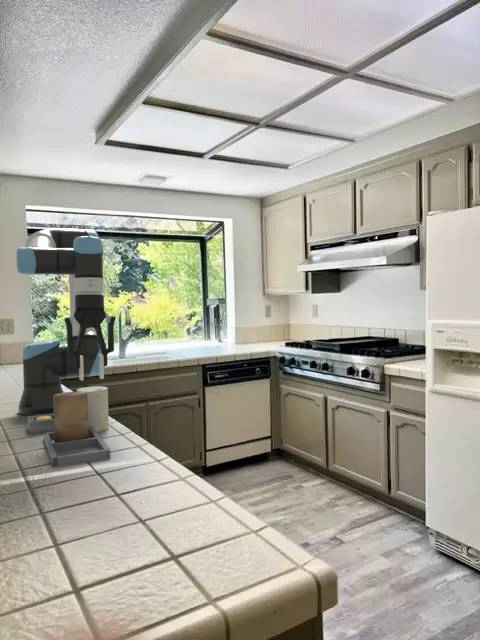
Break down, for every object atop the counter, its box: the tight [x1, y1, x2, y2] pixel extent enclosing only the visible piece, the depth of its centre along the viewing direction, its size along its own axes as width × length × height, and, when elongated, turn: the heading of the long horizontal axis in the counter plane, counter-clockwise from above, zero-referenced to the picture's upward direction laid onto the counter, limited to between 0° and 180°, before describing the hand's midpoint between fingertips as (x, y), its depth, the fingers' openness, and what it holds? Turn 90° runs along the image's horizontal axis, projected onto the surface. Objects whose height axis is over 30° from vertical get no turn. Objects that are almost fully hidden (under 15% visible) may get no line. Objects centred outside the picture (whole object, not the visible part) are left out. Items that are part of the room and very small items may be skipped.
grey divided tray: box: [43, 427, 111, 468], centre depth 113 cm, size 23×12×3 cm, turn 27°
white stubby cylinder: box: [76, 386, 110, 433], centre depth 131 cm, size 8×8×12 cm
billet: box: [53, 391, 90, 443], centre depth 118 cm, size 8×8×12 cm
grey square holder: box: [27, 413, 54, 435], centre depth 132 cm, size 8×8×4 cm
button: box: [36, 416, 52, 421], centre depth 132 cm, size 4×4×3 cm
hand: (91, 378), depth 130 cm, fingers open, 5 cm apart
